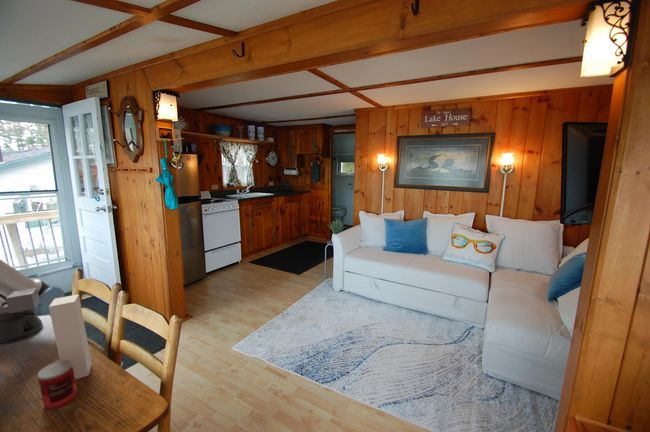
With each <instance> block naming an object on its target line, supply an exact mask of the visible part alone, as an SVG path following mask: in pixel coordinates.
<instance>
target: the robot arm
mask: <svg viewBox="0 0 650 432" xmlns="http://www.w3.org/2000/svg"><path fill="white" fill-rule="evenodd" d="M32 288H37V289H38V293H39V298H40V303H39V304H38V305H37V307H36V308H35V309H30V310H25V311H20V312H15V313H9V312H6V313H1V314H0V345H6V344H7V345H8V344H12V343H15V342H19V341H22V340H25V339H28V338H30V337H32V336H34V335H36V334H37V333H38V332H40V331H41V330H42V329H43V328H44V323H43V321H42V320H41V319H40V317H43V316H46V317H47V316H49V315H50V310H49V306H50V304H51V303H52V302H53V300H54V299H56V298H61V297H65V292H64V290H63V289H62V288H61V287H58V286H56V285H53V286H51V285H49V284H47V283H45V282H44V281H43V280H41V279H39V278H29V277H28V276H26V274H23V273H22V272H20V271H19V270H17V269H15V268H14V267H13V266H11V265H9V264H8V263H6V262H5V261H3V260H2V259H0V306H1V305H5V304H7V301H6V298H7V297H8V296H9V295H10V294H11V293H12V292H14V291H20V290H26V289H32ZM50 316H51V315H50Z"/></svg>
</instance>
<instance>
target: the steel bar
mask: <svg viewBox="0 0 650 432" xmlns="http://www.w3.org/2000/svg"><path fill="white" fill-rule="evenodd" d="M6 301H7V304H5V305H1V306H0V314H1V313H6V312H9V313H15V312H20V311H25V310H30V309H35V308H36V307H37V305H38V304H39V303H40V298H39V293H38V289H37V288H32V289H26V290H20V291H14V292H12V293H11V294H10V295H9V296H8V297H7V298H6Z"/></svg>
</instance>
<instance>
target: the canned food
mask: <svg viewBox="0 0 650 432" xmlns="http://www.w3.org/2000/svg"><path fill="white" fill-rule="evenodd" d="M37 382H38V385H39V390H40V394H41V399H42V403H43V406H44V407H45V409H49V410H51V409H54V410H55V409H58V408H61V407H63V406H65V405H67V404H68V403H70V402H71V401H73V400H74V399H75V397H76V396H77V393H78V389H77V383H76V379H75V377H74V372H73V367H72V363H71V361H68V360H63V361H60V360H59V361H54V362H52V363H50V364H48V365H46V366H44V367H43V368H41V369H40V370H39V372H37Z"/></svg>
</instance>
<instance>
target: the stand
mask: <svg viewBox="0 0 650 432" xmlns="http://www.w3.org/2000/svg"><path fill="white" fill-rule="evenodd" d="M49 310H50V317H51V324H52V329H53V333H54V339H55V343H56V348H57V353H58V357H59V358H58V359H59V361H63V360H68V361H71V363H72V367H73V372H74V377H75V380H78V379H80V378H84V377H88V376H89V375H90V372H91V369H92V366H93V364H92V359H91V353H90V347H89V343H88V336H87V333H86V332H87V331H86V326H85V325H86V324H85V319H84V316H83V315H84V314H83V309H82V305H81V299H80V295H79V293H78V294H74V295H72V294H71V295H68V296H64V297H61V298H56V299H54V300H53V302H52V303H51V304H50V306H49Z"/></svg>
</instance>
